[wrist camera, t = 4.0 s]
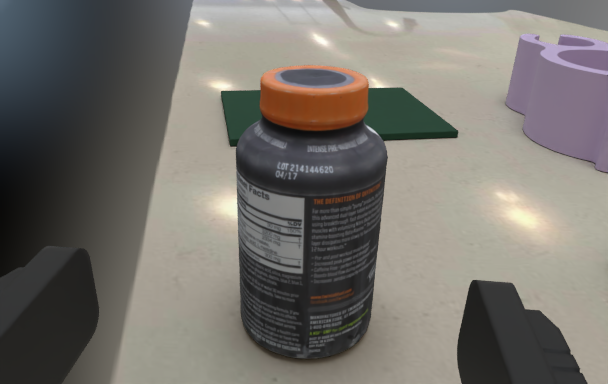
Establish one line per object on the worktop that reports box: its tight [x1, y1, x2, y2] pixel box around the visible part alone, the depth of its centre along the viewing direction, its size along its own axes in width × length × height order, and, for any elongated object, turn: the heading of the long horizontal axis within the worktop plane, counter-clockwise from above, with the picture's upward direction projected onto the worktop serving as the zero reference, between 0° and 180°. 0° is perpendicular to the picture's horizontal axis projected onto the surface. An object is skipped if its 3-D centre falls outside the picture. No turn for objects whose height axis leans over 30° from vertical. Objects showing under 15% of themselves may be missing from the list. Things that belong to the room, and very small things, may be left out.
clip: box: [506, 34, 608, 172], centre depth 48 cm, size 20×12×7 cm, turn 4°
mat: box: [221, 88, 458, 146], centre depth 50 cm, size 20×14×1 cm
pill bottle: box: [236, 65, 388, 358], centre depth 22 cm, size 6×6×11 cm
